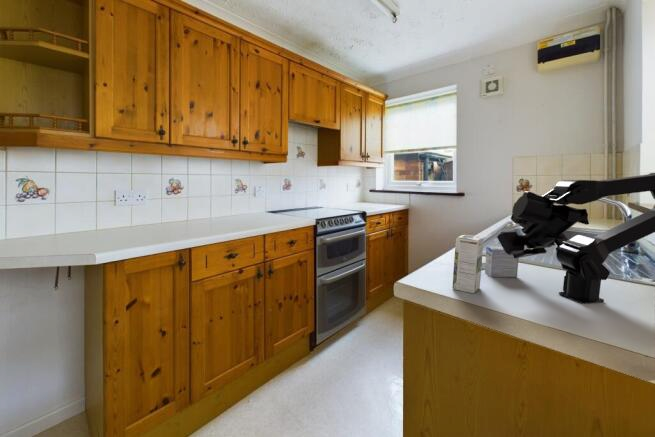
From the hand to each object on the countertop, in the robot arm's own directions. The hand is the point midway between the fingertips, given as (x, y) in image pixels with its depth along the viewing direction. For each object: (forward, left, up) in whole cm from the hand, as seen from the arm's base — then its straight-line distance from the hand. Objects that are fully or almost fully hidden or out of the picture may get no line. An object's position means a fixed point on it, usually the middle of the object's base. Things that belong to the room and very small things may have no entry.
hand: (514, 256), depth 89 cm
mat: (+14, +1, -7) cm, 16 cm away
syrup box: (-3, +18, -7) cm, 19 cm away
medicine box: (+5, 0, -7) cm, 9 cm away
